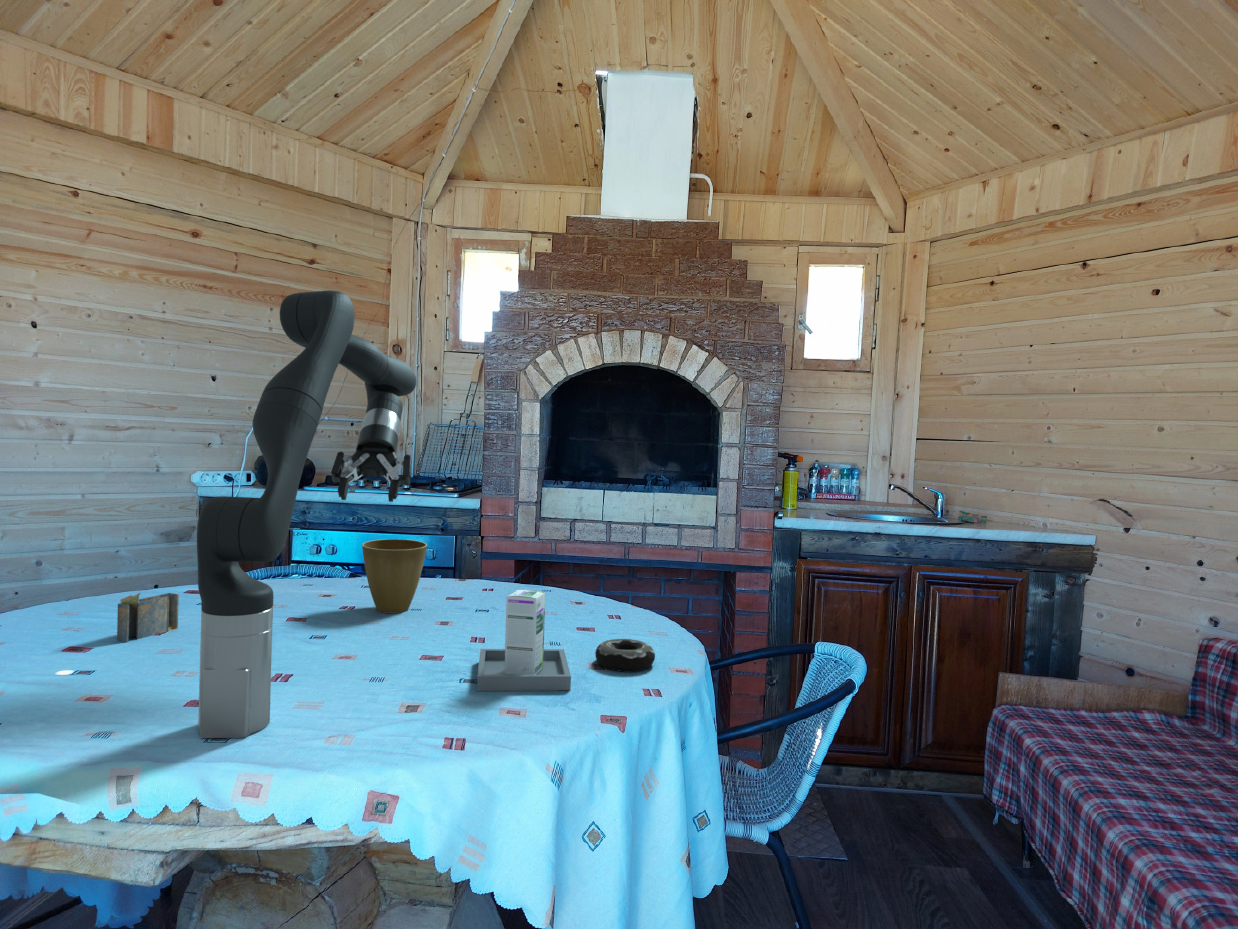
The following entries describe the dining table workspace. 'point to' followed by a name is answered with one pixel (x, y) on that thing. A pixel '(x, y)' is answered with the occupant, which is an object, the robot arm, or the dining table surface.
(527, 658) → the syrup box
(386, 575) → the plant pot
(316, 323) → the robot arm
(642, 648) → the donut
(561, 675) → the tray
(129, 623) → the weathered flanged block
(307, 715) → the dining table surface
